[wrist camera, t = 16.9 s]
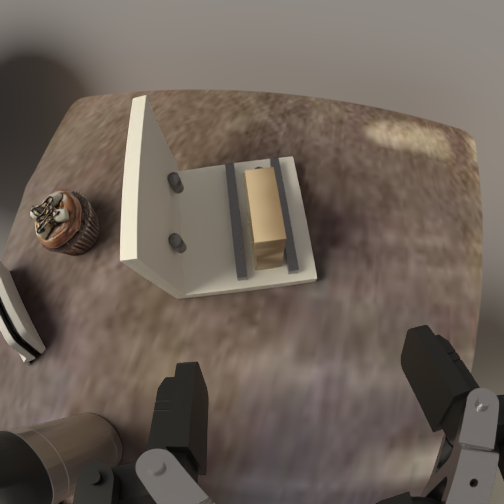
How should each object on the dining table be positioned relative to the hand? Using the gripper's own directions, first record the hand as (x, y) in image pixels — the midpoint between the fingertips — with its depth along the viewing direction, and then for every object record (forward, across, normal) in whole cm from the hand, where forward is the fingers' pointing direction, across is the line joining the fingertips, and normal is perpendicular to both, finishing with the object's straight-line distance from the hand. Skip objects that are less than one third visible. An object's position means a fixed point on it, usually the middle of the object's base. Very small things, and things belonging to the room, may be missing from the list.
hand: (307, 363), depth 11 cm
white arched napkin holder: (+27, +40, +14) cm, 50 cm away
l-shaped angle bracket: (+33, +3, +8) cm, 34 cm away
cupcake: (+35, +28, +6) cm, 45 cm away
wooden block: (+29, 0, +8) cm, 30 cm away
